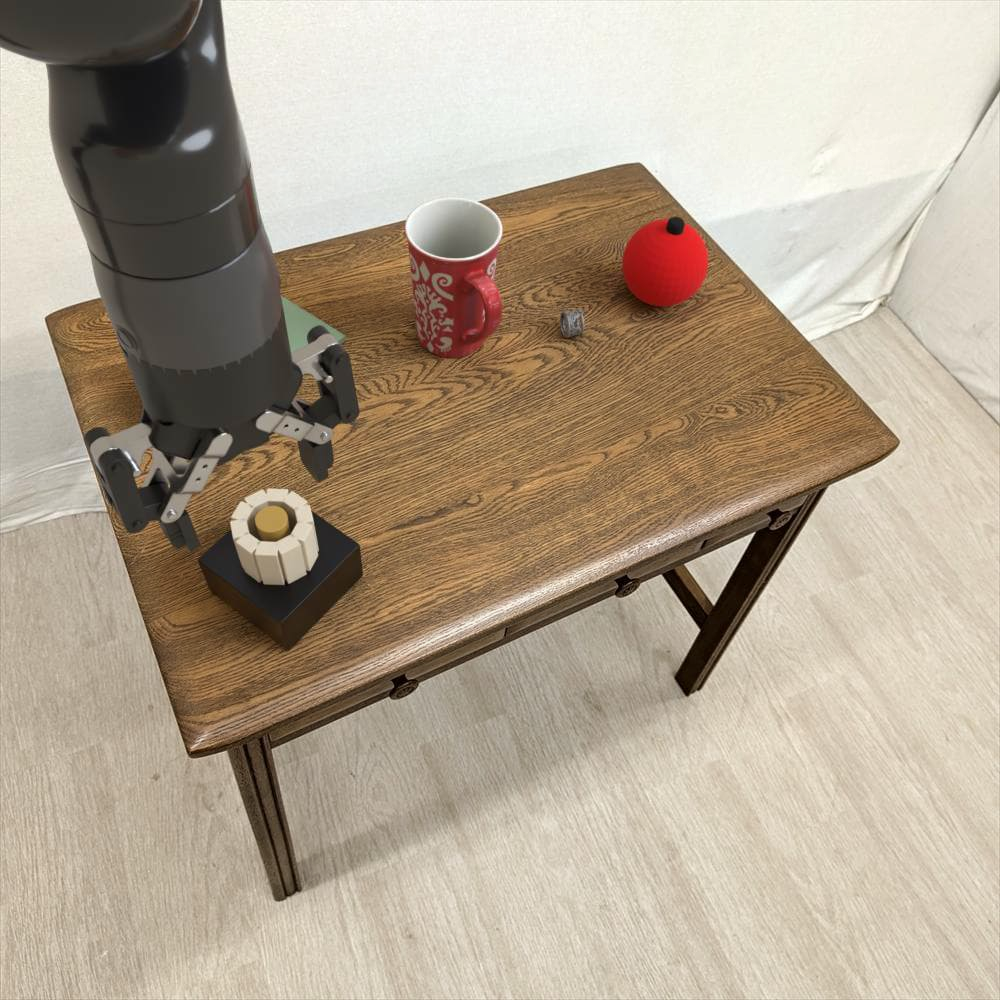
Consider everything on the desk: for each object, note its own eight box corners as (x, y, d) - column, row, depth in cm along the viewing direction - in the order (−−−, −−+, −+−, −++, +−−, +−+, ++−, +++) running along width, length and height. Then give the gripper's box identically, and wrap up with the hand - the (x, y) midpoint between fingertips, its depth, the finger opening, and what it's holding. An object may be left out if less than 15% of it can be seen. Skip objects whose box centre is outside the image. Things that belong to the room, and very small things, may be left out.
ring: (281, 599, 69) (273, 570, 65) (223, 556, 71) (212, 525, 67) (334, 547, 72) (329, 516, 68) (278, 507, 74) (270, 474, 70)
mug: (392, 316, 94) (388, 209, 83) (469, 293, 97) (476, 186, 86) (444, 400, 88) (447, 297, 77) (525, 373, 91) (539, 269, 80)
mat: (275, 398, 87) (274, 392, 86) (202, 348, 90) (200, 343, 89) (345, 340, 92) (345, 335, 91) (274, 296, 94) (273, 290, 94)
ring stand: (288, 651, 72) (272, 593, 64) (209, 589, 75) (183, 526, 67) (363, 575, 76) (356, 511, 68) (285, 519, 79) (270, 451, 71)
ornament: (710, 314, 98) (737, 240, 89) (637, 332, 95) (658, 258, 87) (672, 260, 102) (694, 185, 94) (601, 276, 100) (617, 201, 92)
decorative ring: (582, 341, 94) (587, 320, 92) (565, 343, 94) (569, 322, 91) (574, 322, 95) (578, 301, 93) (558, 324, 95) (561, 303, 93)
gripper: (292, 205, 45) (322, 413, 58) (8, 317, 40) (113, 518, 53) (375, 292, 42) (387, 490, 55) (78, 426, 36) (171, 611, 50)
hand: (253, 504), depth 54 cm, fingers open, 8 cm apart
